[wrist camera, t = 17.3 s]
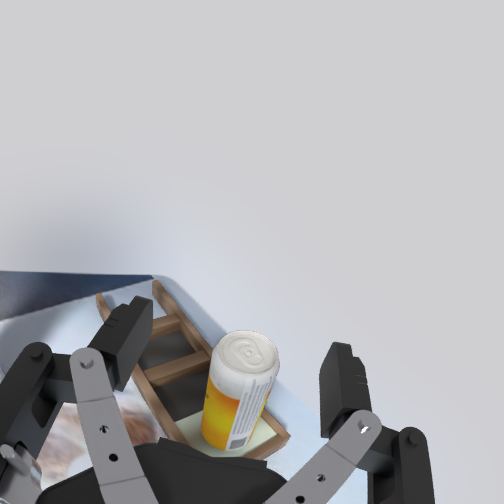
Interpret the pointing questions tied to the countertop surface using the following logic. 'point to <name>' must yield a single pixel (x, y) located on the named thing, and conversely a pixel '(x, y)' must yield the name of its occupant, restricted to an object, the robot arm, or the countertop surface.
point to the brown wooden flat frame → (187, 383)
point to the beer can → (238, 388)
